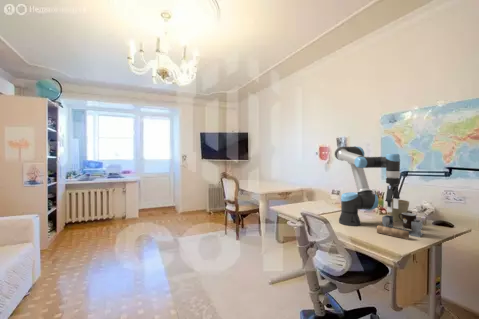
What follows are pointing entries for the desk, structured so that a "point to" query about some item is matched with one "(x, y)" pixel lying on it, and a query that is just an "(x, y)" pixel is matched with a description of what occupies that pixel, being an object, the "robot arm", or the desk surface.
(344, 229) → the desk surface
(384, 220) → the bracket
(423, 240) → the desk surface
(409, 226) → the coffee mug
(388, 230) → the wooden cylinder
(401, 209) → the plant pot
